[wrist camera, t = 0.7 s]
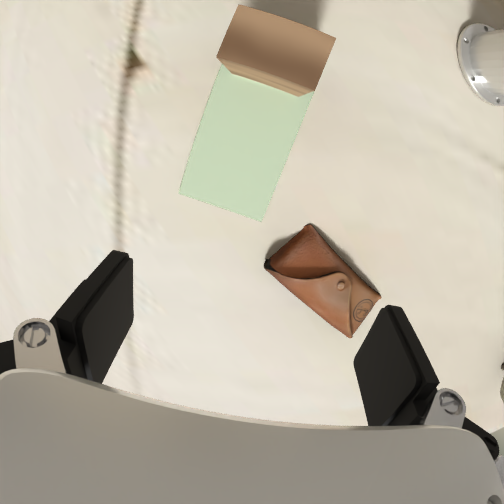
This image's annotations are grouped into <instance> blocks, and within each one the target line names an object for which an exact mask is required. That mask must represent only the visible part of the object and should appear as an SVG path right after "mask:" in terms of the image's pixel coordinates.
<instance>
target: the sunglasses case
mask: <svg viewBox="0 0 504 504" xmlns="http://www.w3.org/2000/svg"><path fill="white" fill-rule="evenodd" d="M264 268H265V270H266V271H268V272H269V273H270V274H271V275H273V276H274V277H275V278H276V279H277V280H278V281H279V282H280V283H281V284H282V285H284V286H285V287H286V288H287V289H288V290H289V291H290V292H292V293H293V294H294V295H295V296H296V297H298V298H299V299H300V300H301V301H302V302H304V303H305V304H306V305H307V306H308V307H310V308H311V309H312V310H313V311H315V312H316V313H317V314H318V315H319V316H321V317H322V318H323V319H324V320H326V321H327V322H328V323H329V324H331V325H332V326H333V327H335V328H336V329H337V330H339V331H340V332H342V333H343V334H344V335H346V336H347V337H348V338H352V337H353V336H352V335H353V334H354V333H355V331H356V330H357V329H358V327H359V326H360V325H361V323H362V322H363V320H364V319H365V318H366V316H367V315H368V313H369V312H370V311H371V309H372V308H373V306H374V305H375V303H376V302H377V301H378V300H379V299H381V295H380V294H379V293H377V292H376V291H375V290H373V289H372V288H371V287H370V286H368V285H367V284H366V283H365V282H364V281H363V280H362V279H361V278H360V277H359V276H358V275H357V274H356V273H355V272H354V271H353V270H352V269H351V268H350V267H349V266H348V265H347V264H346V263H345V262H344V261H343V260H342V259H341V258H340V257H339V256H338V255H337V254H336V253H335V252H334V250H332V248H331V247H330V246H329V245H328V244H327V243H326V242H325V240H324V239H323V238H322V237H321V236H320V235H319V233H318V232H317V231H316V229H315V228H314V227H313V226H312V225H311V224H308V225H305V226H304V228H303V229H302V230H301V231H300V232H299V233H298V234H297V235H296V236H295V237H293V238H292V239H291V240H290V241H289V242H288V243H286V244H285V245H284V246H283V247H282V248H281V249H279V251H277V252H276V253H275V254H274V255H273V256H272V257H271V258H270V259H269V260H268V259H266V261H265V263H264Z"/></svg>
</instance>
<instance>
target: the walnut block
mask: <svg viewBox="0 0 504 504" xmlns="http://www.w3.org/2000/svg"><path fill="white" fill-rule="evenodd" d="M335 40H336V38H335V37H332V36H330V35H328V34H325V33H323V32H320V31H318V30H316V29H313V28H311V27H308V26H305V25H303V24H300V23H297V22H295V21H292V20H289V19H286V18H283V17H280V16H277V15H274V14H271V13H268V12H264V11H261V10H257V9H254V8H250V7H247V6H243V5H238V7H237V9H236V12H235V14H234V16H233V18H232V21H231V23H230V25H229V28H228V30H227V32H226V35H225V37H224V39H223V42H222V44H221V47H220V49H219V52H218V54H217V58H218V59H219V60H220V62H221V63H222V64H223V65H224V66H225V67H226V68H227V69H228V70H229V71H230V73H231V74H234V75H237V76H240V77H243V78H246V79H249V80H252V81H255V82H258V83H261V84H264V85H267V86H270V87H273V88H276V89H278V90H281V91H284V92H286V93H289V94H292V95H294V96H297V97H299V96H302V95H305V94H307V93H310V92H313V91H315V89H316V86H317V84H318V81H319V79H320V77H321V74H322V72H323V69H324V67H325V64H326V62H327V59H328V57H329V54H330V52H331V50H332V47H333V45H334V42H335Z"/></svg>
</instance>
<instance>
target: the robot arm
mask: <svg viewBox="0 0 504 504" xmlns="http://www.w3.org/2000/svg"><path fill="white" fill-rule="evenodd" d="M457 52H458V59H459V64H460V67H461V70H462V73H463V75H464V77H465V79H466V81H467V83H468V85H469V86H470V88H471V89H472V90H473V91H474V93H475V94H476V95H477V96H478V97H479V98H481V99H482V100H483V101H485V102H486V103H488V104H491V105H496V106H504V29H500V30H495V29H494V28H492V27H490V26H488V25H486V24H482V23H475V24H471V25H468V26H467V27H465V28H464V29H463V30H462V32H461V34H460V36H459V39H458V47H457ZM133 318H134V311H133V259H132V258H129V255H128V253H125V252H120V251H116V250H113V251H111V252H110V254H109V255H108V256H107V257H106V258H105V259H104V260H103V261H102V262H101V263H100V265H99V266H98V267H97V268H96V269H95V270H94V271H93V272H92V274H91V275H90V276H89V277H88V278H87V279H86V280H84V281H83V282H82V283H81V284H80V285H79V286H78V287H77V288H76V290H75V291H74V292H73V293H72V294H71V295H70V297H69V298H68V299H67V300H66V301H65V303H64V304H63V305H62V306H61V307H60V309H59V310H58V311H57V312H56V314H55V315H54V316H53V317H52V319H51V320H50V321H47V320H45V319H41V318H32V319H29V320H26V321H24V322H22V323H21V324H20V325H19V326H18V327H17V328H16V330H15V332H14V336H13V340H10V341H6V342H2V343H0V504H504V457H503V456H502V455H501V456H500V457H498V455H499V446H498V443H497V440H496V439H495V438H494V437H493V436H492V435H491V434H489V433H488V432H486V431H485V430H483V429H482V428H481V427H479V426H478V425H476V424H475V423H473V422H472V421H470V420H469V419H468V418H466V417H465V413H466V406H465V402H464V401H463V399H462V397H461V396H460V395H459V394H458V393H456V392H455V391H453V390H451V389H447V388H443V389H440V390H437V388H436V387H437V385H438V384H439V383H440V382H439V380H438V378H437V376H436V374H435V372H434V369H433V367H432V365H431V363H430V361H429V359H428V357H427V355H426V353H425V351H424V349H423V347H422V345H421V343H420V341H419V339H418V337H417V335H416V333H415V331H414V329H413V328H412V326H411V324H410V322H409V320H408V318H407V316H406V314H405V313H404V311H403V309H402V308H401V307H398V306H392V305H387V306H386V307H385V308H382V309H381V310H380V312H379V314H378V316H377V317H376V319H375V321H374V323H373V325H372V327H371V329H370V331H369V333H368V335H367V336H366V338H365V340H364V342H363V344H362V345H361V347H360V349H359V351H358V352H357V354H356V356H355V358H354V368H355V372H356V376H357V380H358V384H359V388H360V392H361V396H362V400H363V404H364V408H365V413H366V417H367V421H368V426H332V425H314V424H300V423H288V422H278V421H269V420H261V419H253V418H246V417H240V416H233V415H227V414H222V413H216V412H210V411H205V410H200V409H195V408H190V407H186V406H181V405H177V404H173V403H168V402H164V401H160V400H156V399H153V398H149V397H145V396H141V395H138V394H134V393H130V392H127V391H123V390H120V389H116V388H113V387H110V386H107V385H103V384H102V382H103V380H104V378H105V376H106V374H107V372H108V370H109V368H110V366H111V364H112V362H113V360H114V358H115V356H116V354H117V352H118V350H119V348H120V346H121V344H122V342H123V340H124V339H125V337H126V335H127V333H128V331H129V329H130V327H131V325H132V323H133Z"/></svg>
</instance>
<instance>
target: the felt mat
mask: <svg viewBox="0 0 504 504" xmlns="http://www.w3.org/2000/svg"><path fill="white" fill-rule="evenodd" d="M313 94H314V91H313V92H310V93H307V94H305V95H302V96H299V97H297V96H294V95H292V94H289V93H286V92H284V91H281V90H278V89H276V88H273V87H270V86H267V85H264V84H261V83H258V82H255V81H252V80H249V79H246V78H243V77H240V76H237V75H234V74H231V73H230V71H229V70H228V69H227V68H226V67H225V66H224V65H223V64H222V65H221V68H220V70H219V73H218V75H217V78H216V81H215V83H214V86H213V89H212V92H211V94H210V97H209V100H208V103H207V105H206V108H205V111H204V114H203V117H202V120H201V123H200V126H199V129H198V132H197V135H196V138H195V141H194V144H193V147H192V150H191V153H190V156H189V160H188V163H187V166H186V169H185V173H184V176H183V180H182V183H181V186H180V190H179V193H178V194H181V195H184V196H187V197H190V198H193V199H196V200H199V201H202V202H205V203H208V204H211V205H214V206H217V207H220V208H222V209H225V210H228V211H231V212H234V213H237V214H240V215H243V216H246V217H248V218H251V219H254V220H257V221H260V222H262V220H263V217H264V215H265V212H266V210H267V207H268V205H269V202H270V200H271V197H272V195H273V192H274V190H275V187H276V185H277V182H278V180H279V177H280V175H281V172H282V170H283V168H284V165H285V163H286V160H287V158H288V155H289V153H290V150H291V148H292V145H293V143H294V140H295V138H296V135H297V133H298V130H299V128H300V126H301V123H302V121H303V118H304V116H305V113H306V111H307V108H308V106H309V103H310V101H311V98H312V96H313Z"/></svg>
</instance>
